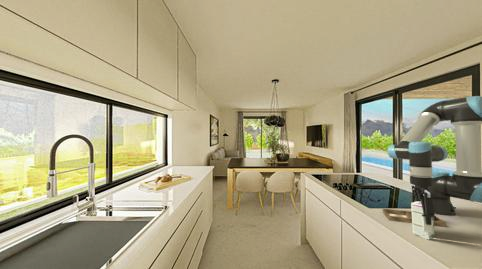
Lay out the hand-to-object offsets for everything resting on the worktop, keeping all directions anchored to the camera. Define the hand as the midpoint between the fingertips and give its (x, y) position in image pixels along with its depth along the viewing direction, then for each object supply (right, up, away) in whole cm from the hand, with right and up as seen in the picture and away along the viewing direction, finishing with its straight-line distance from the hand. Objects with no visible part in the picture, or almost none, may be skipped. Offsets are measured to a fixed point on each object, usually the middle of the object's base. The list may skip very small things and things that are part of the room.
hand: (423, 227), depth 86 cm
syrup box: (0, -4, 0) cm, 4 cm away
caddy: (+9, -4, +16) cm, 18 cm away
